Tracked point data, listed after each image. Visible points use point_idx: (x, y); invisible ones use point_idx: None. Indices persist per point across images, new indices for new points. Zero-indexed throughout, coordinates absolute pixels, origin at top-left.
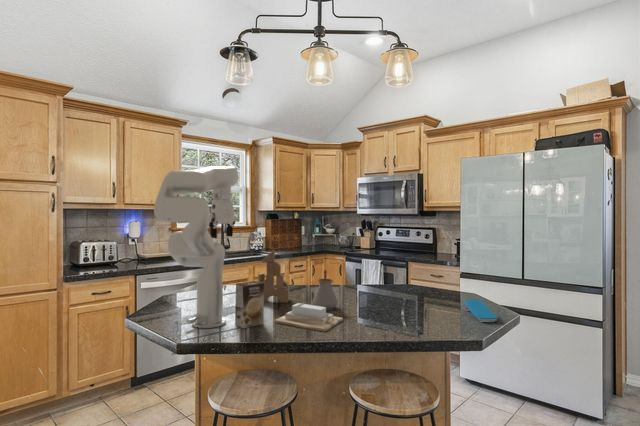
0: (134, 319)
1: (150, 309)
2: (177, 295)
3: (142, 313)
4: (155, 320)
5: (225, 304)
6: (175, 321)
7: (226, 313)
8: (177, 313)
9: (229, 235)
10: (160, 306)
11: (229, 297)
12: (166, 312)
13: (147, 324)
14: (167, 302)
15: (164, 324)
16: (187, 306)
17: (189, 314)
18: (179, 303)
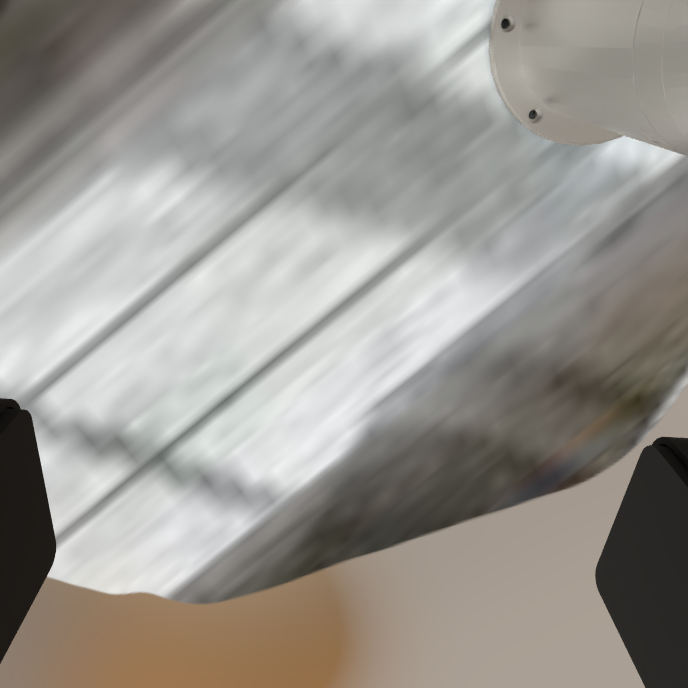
0: (621, 443)
1: (456, 501)
2: (186, 577)
3: (526, 483)
4: (612, 354)
5: (182, 240)
6: (602, 255)
7: (354, 86)
8: (468, 350)
9: (31, 479)
10: (393, 502)
11: (33, 329)
12: (473, 408)
13: (680, 339)
14: (318, 526)
15: (664, 267)
16: (333, 399)
17: (462, 282)
18: (305, 470)
